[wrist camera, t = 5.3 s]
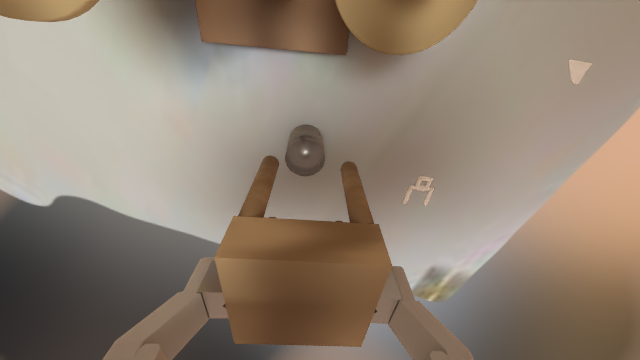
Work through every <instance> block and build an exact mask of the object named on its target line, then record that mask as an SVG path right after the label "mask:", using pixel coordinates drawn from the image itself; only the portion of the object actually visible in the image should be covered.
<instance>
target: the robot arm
mask: <svg viewBox="0 0 640 360" xmlns="http://www.w3.org/2000/svg"><path fill="white" fill-rule="evenodd" d="M209 318H228V314H227V310H226V305H225V301H224V297H223V293H222V288H221V284H220V280H219V276H218V271H217V267H216V263H215V259H214V258H207V257H203V258H202V259H201V260H200V261H199V263H198V265H197V267H196V268H195V270H194V272H193V274H192V276H191V278H190V279H189V282H188V283H187V285H186V287H185V289H184V291H183V292H179V293H177V294H176V295H175V296H173V297H172V298H171V299H169V300H168V301H167V302H165V303H164V304H163V305H162V306H160V307H159V308H158V309H156V310H155V311H154V312H152V313H151V314H150V315H149V316H147V317H146V318H145V319H143V320H142V321H141V322H139V323H138V324H137V325H136V326H134V327H133V328H132V329H130V330H129V331H128V332H127V333H125V334H124V335H123V336H121V337H120V338H119V339H117V340H116V341H115V342H114V344H113V345H112V347H111V348H110V350H109V351H108V353H107V354H106V356H105V357H104V359H103V360H172V359H173V358H174V357H175V356H176V355H177V354H178V353H179V351H180V350H181V349H182V348H183V347H184V346H185V345H186V344H187V342H189V341H190V339H191V338H192V337H193V336H194V335H195V334H196V333H197V332H198V331H199V329H201V327H202V326H203V325H204V324H205V323H206V322H207V321H208V320H209ZM370 323H383V324H388V325H389V327H390V328H391V329H392V331H393V332H394V333H395V335H396V336H397V338H398V339H399V341H400V342H401V343H402V345H403V346H404V348H405V349H406V350H407V352H408V353H409V354H410V356H411V357H412V359H413V360H474V359H473V357H472V355H471V353H470V351H469V350H468V349H467V348H466V347H465V346H464V345H463V344H462V343H461V342H460V341H459V340H458V339H457V338H456V337H455V336H454V335H453V334H452V333H451V332H450V331H449V330H448V329H447V328H446V327H444V325H443V324H442V323H441V322H439V320H438V319H437V318H436V317H435V316H434V315H432V314H431V313H430V312H429V311H428V310H427V309H426V308H425V307H424V306H423V305H422V304H421V303H420V302H419V301H415V298H414V296H413V293H412V290H411V288H410V285H409V283H408V280H407V277H406V275H405V272H404V270H403V268H402V267H400V266H392V268H391V270H390V273H389V276H388V278H387V281H386V283H385V286H384V289H383V291H382V294H381V296H380V299H379V301H378V304H377V307H376V309H375V312H374V314H373V317H372V320H371V322H370Z"/></svg>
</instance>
